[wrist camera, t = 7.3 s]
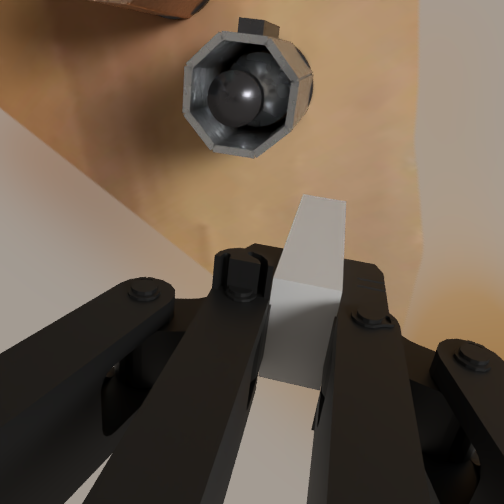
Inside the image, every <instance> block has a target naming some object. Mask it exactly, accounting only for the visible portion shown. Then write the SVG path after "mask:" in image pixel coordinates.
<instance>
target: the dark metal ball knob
mask: <svg viewBox="0 0 504 504" xmlns="http://www.w3.org/2000/svg"><path fill="white" fill-rule="evenodd" d="M290 87H291V81H290V80H289V78H288V77H287V75H286V74H285V73H284V71H283V70H282V68H281V67H280V65H279V64H278V63H277V61H276V60H275V58H274V57H273V55H272V54H269V53H264V52H254V53H250V54H247V55H244V56H243V57H241V58H240V59H238V60H237V61H236V62H235V63H234V64H233V65H232V67H231V68H230V70H229V71H226V72H223V73H221V74H219V75H218V76H217V77H216V78H215V79H214V80H213V81H212V83H211V85H210V87H209V90H208V95H207V101H208V106H209V109H210V112H211V114H212V115H213V117H214V118H215V119H216V120H217V121H218V122H220V123H221V124H223V125H225V126H228V127H241V126H244V125H246V124H248V125H252V126H267V125H270V124H273V123H275V122H276V121H278V120H279V119H280V118H281V117H283V116H284V115H285V113H286V112H287V109H288V102H289V95H290Z"/></svg>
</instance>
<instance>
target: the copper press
mask: <svg viewBox="0 0 504 504" xmlns="http://www.w3.org/2000/svg"><path fill="white" fill-rule="evenodd" d="M88 1H93V2H98V3H102V4H107V5H112V6H116V7H121V8H126V9H130V10H135V11H139V12H144V13H149V14H153V15H158V16H161V17H164V18H169V19H184V18H185V19H188V18H190V17H191V16H192V15H194V14H196V13H197V12H199V11H200V10H201V9H202V8H203V7H204V6H205V5H206V4H207V3H208V1H209V0H88Z"/></svg>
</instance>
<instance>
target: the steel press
mask: <svg viewBox="0 0 504 504" xmlns="http://www.w3.org/2000/svg"><path fill="white" fill-rule="evenodd" d="M279 28H280V27H279V26H277V25H275V24H272V23H270V22H267V21H265V20H258V19H249V18H241V17H239V24H238V33H236V32H228V31H222V32H218V33H217V34H216V35H215V36H214V37H213V38H212V39H211V40H210V41H209V42H208V43H207V44H206V45H205V46H203V47H202V48H201V49H200V50H199V51H198V52H197V53H196V54H195V55H194V56H193V57H192V58H191V59H190V60H189V61H188V62H187V63H186V65H187V66H185V67H184V90H183V113H185V114H184V115H183V116H184V117H185V118H186V119H187V121H188V122H189V123H190V125H191V126H192V127H193V128H194V130H195V131H196V132H197V134H198V135H199V136H200V138H201V139H202V140H203V141H204V143H205V144H206V145H207V147H208V148H209V149H210V150H212V149H213V152H217V153H223V154H229V155H236V156H242V157H248V158H255V157H256V158H257V157H258V156H260V155H261V154H262V153H263V152H265V151H266V150H267V149H269V148H270V147H271V146H273V145H274V144H275V143H277V142H278V141H279V140H280V139H282V138H283V137H284V136H286V135H287V134H288V133H290V132H291V131H292V130H293V128H294V127H295V126H296V125H297V123H298V122H299V121H300V120H301V118H302V117H303V116H304V115H305V113H306V112H307V110H308V106H309V104H310V101H311V98H312V93H313V74H312V73H313V72H312V70H311V68H310V66H309V63H308V61H307V60H306V58H305V56H304V55H303V54H302V53H301V51H300V50H298V49H297V48H296V47H295V45H294V44H293V43H291V42H289V41H285V40H282V39H278V36H279ZM254 52H264V53H269V54H272V55H273V57H274V58H275V60H276V61H277V63H278V64H279V65H280V67H281V68H282V70H283V71H284V73H285V74H286V75H287V77H288V78H289V80H290V81H291V87H290V95H289V102H288V109H287V112H286V113H285V115H284V116H283V117H281V118H280V119H279V120H278V121H276V122H275V123H273V124H270V125H267V126H252V125H248V124H246V125H244V126H241V127H228V126H225V125H223V124H221V123H220V122H218V121H217V120H216V119H215V118H214V117H213V115H212V114H211V112H210V109H209V106H208V101H207V95H208V90H209V87H210V85H211V83H212V81H213V80H214V79H215V78H216V77H217V76H218V75H219V74H221V73H223V72H226V71H229V70H230V68H231V67H232V65H233V64H234V63H235V62H236V61H237V60H238V59H240V58H241V57H243V56H244V55H247V54H250V53H254Z"/></svg>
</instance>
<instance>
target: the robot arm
mask: <svg viewBox="0 0 504 504" xmlns="http://www.w3.org/2000/svg"><path fill="white" fill-rule="evenodd" d="M345 217H346V201H341V200H335V199H329V198H323V197H317V196H311V195H305V194H303V196H302V199H301V202H300V205H299V207H298V210H297V213H296V216H295V218H294V221H293V224H292V227H291V230H290V232H289V235H288V238H287V241H286V244H285V246H284V249H283V248H277V247H272V246H267V245H261V244H256V243H255V244H253V245H251V246H249V247H247V248H245V249H244V248H232V249H226V250H223V251H220V252H218V253H217V254H216V255H215V259H214V271H213V284H212V289H211V291H210V293H209V294H208V296H207V297H204V298H199V299H175V289H174V288H173V287H172V286H171V284H169V283H167V282H165V281H163V280H159V279H155V278H151V277H148V278H146V277H140V278H135V279H129V280H127V281H124V282H122V283H120V284H118V285H116V286H115V287H113V288H111V289H110V290H108V291H106V292H104V293H103V294H101V295H99V296H98V297H96V298H94V299H92V300H91V301H89V302H87V303H86V304H84V305H82V306H81V307H79V308H77V309H75V310H74V311H72V312H70V313H69V314H67V315H65V316H64V317H62V318H60V319H58V320H57V321H55V322H53V323H52V324H50V325H48V326H47V327H45V328H43V329H42V330H40V331H38V332H37V333H35V334H33V335H31V336H30V337H28V338H26V339H25V340H23V341H21V342H19V343H18V344H16V345H14V346H13V347H11V348H9V349H8V350H6V351H4V352H2V353H1V354H0V504H64V503H65V502H66V501H67V500H68V499H69V498H70V497H71V496H72V495H73V494H74V493H75V492H76V490H77V489H78V488H79V487H80V486H81V485H82V484H83V483H84V482H85V481H86V480H87V479H88V478H89V477H90V476H91V475H92V474H93V473H94V472H95V471H96V470H97V469H98V468H99V467H100V465H101V464H102V463H103V462H104V461H105V460H106V459H107V458H108V457H109V456H110V455H111V454H112V455H111V457H110V459H109V460H108V462H107V463H106V465H105V467H104V468H103V470H102V472H101V474H100V475H99V477H98V478H97V480H96V482H95V484H94V485H93V487H92V488H91V490H90V492H89V493H88V495H87V497H86V498H85V500H84V502H83V503H82V504H223V502H224V499H225V495H226V491H227V488H228V485H229V481H230V478H231V474H232V470H233V467H234V464H235V460H236V457H237V453H238V450H239V446H240V443H241V439H242V436H243V432H244V428H245V425H246V422H247V418H248V415H249V412H250V408H251V404H252V401H253V397H254V394H255V390H256V384H257V376H258V372H259V376H260V377H264V378H268V379H273V380H277V381H281V382H286V383H290V384H294V385H299V386H304V387H307V388H312V389H316V390H320V387H321V391H320V395H319V399H318V403H317V408H316V412H315V416H314V421H313V425H312V430H314V439H313V449H312V458H311V459H312V460H311V468H310V477H309V487H308V497H307V504H504V361H503V360H502V359H501V358H500V357H499V356H498V355H496V354H495V353H494V352H492V351H490V350H489V349H487V348H485V347H484V346H483V345H480V344H476V343H475V342H472V341H466V340H461V339H446V340H444V341H442V342H440V343H439V345H438V347H437V350H436V352H435V351H432V350H430V349H428V348H425V347H422V346H420V345H418V344H416V343H413V342H411V341H409V340H408V339H406V338H405V337H403V336H402V335H401V329H400V325H399V323H398V321H397V319H396V318H394V317H393V316H392V315H391V314H390V313H389V310H388V303H387V296H386V292H385V291H386V289H385V285H384V283H385V282H384V275H383V273H382V272H381V271H380V270H379V268H378V267H377V266H376V265H375V264H370V263H364V262H359V261H354V260H348V259H344V241H345ZM113 366H114V367H113ZM112 367H113V368H112ZM321 383H322V384H321ZM475 450H476V451H475Z"/></svg>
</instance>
